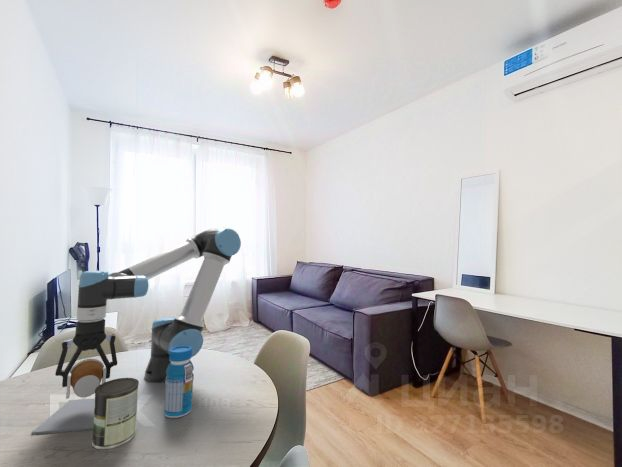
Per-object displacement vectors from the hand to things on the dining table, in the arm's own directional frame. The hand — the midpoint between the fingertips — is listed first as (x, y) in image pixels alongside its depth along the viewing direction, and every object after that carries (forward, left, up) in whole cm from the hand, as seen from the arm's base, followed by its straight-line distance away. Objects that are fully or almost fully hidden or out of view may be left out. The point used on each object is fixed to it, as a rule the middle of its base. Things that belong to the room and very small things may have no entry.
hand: (86, 392), depth 94 cm
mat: (0, 0, -7) cm, 7 cm away
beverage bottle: (-28, +3, -7) cm, 29 cm away
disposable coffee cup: (-3, +6, +5) cm, 9 cm away
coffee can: (-14, +14, -7) cm, 21 cm away
